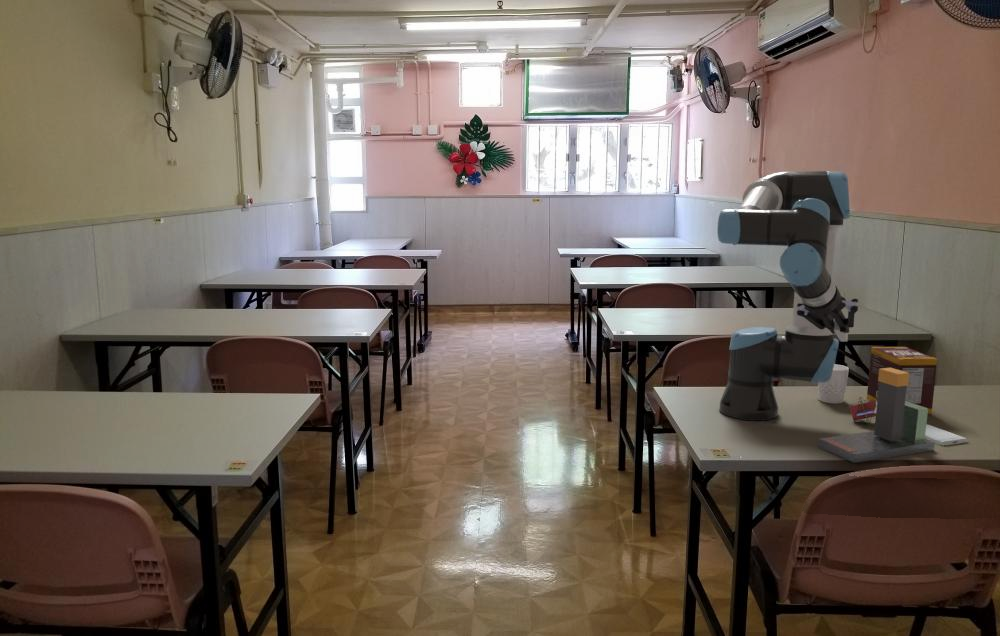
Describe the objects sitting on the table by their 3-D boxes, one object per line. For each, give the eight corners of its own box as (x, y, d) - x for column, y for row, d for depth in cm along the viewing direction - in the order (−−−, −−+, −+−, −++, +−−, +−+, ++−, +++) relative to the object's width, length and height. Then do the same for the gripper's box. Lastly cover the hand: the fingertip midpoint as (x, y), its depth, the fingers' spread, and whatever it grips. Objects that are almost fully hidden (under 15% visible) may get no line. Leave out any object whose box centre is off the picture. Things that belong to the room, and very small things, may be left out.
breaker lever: (891, 441, 174) (898, 374, 171) (872, 434, 179) (879, 368, 176) (902, 440, 175) (909, 372, 172) (883, 432, 180) (890, 367, 177)
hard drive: (900, 425, 190) (942, 441, 178) (924, 422, 193) (968, 437, 181) (899, 431, 190) (942, 447, 179) (924, 428, 193) (967, 444, 181)
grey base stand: (853, 462, 167) (857, 420, 166) (818, 446, 178) (821, 406, 176) (933, 450, 175) (938, 409, 174) (895, 435, 186) (899, 396, 184)
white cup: (810, 397, 219) (813, 363, 217) (836, 396, 220) (839, 363, 218) (825, 404, 211) (828, 370, 209) (851, 404, 212) (854, 370, 210)
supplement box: (900, 398, 218) (905, 346, 215) (932, 414, 203) (938, 358, 200) (865, 398, 218) (870, 346, 215) (894, 414, 202) (900, 358, 200)
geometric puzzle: (842, 415, 195) (864, 394, 191) (842, 408, 201) (864, 387, 198) (864, 434, 193) (887, 413, 190) (864, 426, 199) (886, 406, 196)
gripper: (785, 310, 161) (814, 352, 178) (850, 305, 153) (874, 349, 170) (787, 279, 164) (815, 323, 181) (851, 273, 156) (874, 319, 173)
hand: (844, 336), depth 175 cm, fingers closed
